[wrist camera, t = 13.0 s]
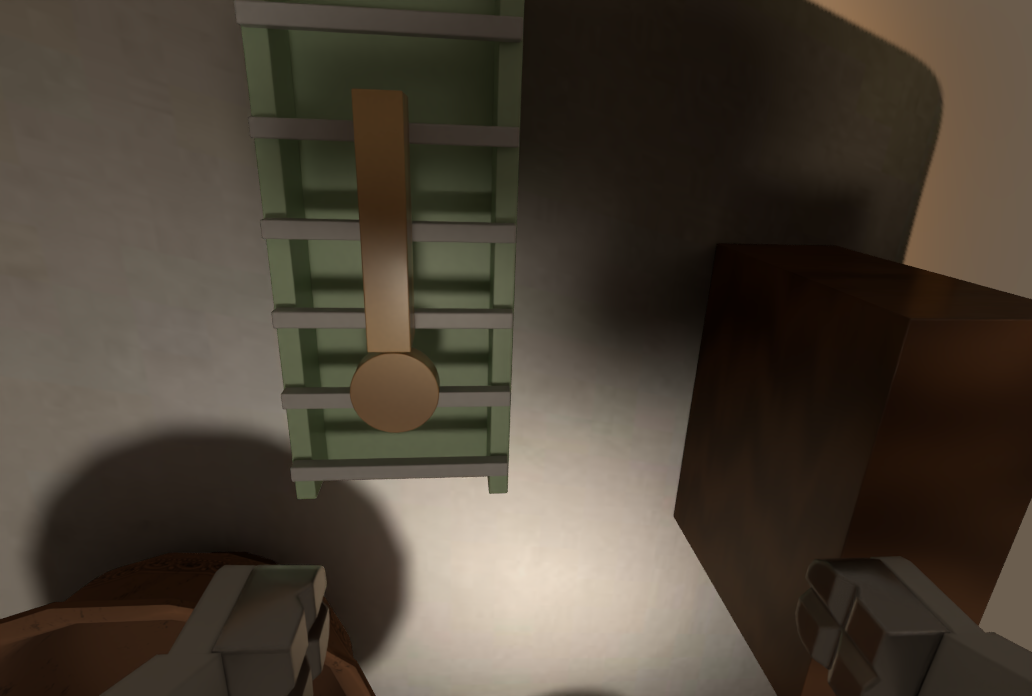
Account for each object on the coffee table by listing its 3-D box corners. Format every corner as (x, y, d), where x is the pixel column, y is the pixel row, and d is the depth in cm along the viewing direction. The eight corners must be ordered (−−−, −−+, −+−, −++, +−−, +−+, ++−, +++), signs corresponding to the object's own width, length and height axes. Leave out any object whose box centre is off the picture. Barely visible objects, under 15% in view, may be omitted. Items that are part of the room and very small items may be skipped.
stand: (716, 243, 31) (910, 318, 18) (835, 245, 31) (1106, 319, 18) (673, 516, 37) (793, 723, 24) (773, 513, 38) (943, 712, 24)
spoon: (333, 92, 22) (318, 86, 20) (435, 96, 22) (433, 91, 20) (356, 421, 27) (347, 448, 25) (440, 420, 27) (439, 446, 25)
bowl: (373, 428, 32) (334, 561, 22) (437, 695, 40) (430, 884, 30) (-20, 489, 31) (-251, 658, 21) (124, 751, 39) (7, 967, 29)
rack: (266, -18, 24) (223, -53, 20) (515, -2, 26) (527, -32, 21) (314, 458, 33) (292, 509, 28) (501, 454, 34) (508, 502, 29)
